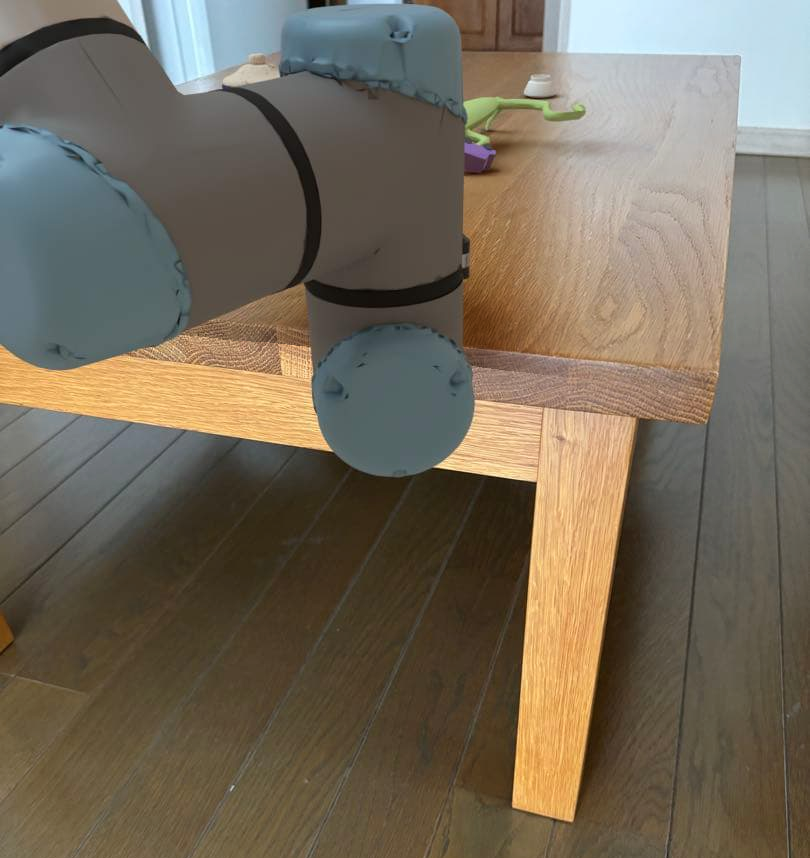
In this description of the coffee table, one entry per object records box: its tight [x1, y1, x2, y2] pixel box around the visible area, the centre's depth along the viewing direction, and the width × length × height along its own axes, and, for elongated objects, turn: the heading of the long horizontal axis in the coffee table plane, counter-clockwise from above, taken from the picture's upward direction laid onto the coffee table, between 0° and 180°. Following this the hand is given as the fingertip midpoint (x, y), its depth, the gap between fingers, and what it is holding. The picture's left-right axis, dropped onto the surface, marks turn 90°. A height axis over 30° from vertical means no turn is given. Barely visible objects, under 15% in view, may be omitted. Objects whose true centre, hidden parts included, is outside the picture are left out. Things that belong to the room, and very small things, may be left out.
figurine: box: [463, 96, 587, 174], centre depth 109 cm, size 18×27×6 cm
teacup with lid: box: [221, 52, 280, 89], centre depth 108 cm, size 12×9×12 cm
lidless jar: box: [523, 73, 557, 99], centre depth 141 cm, size 5×3×5 cm
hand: (353, 198), depth 71 cm, fingers open, 8 cm apart
